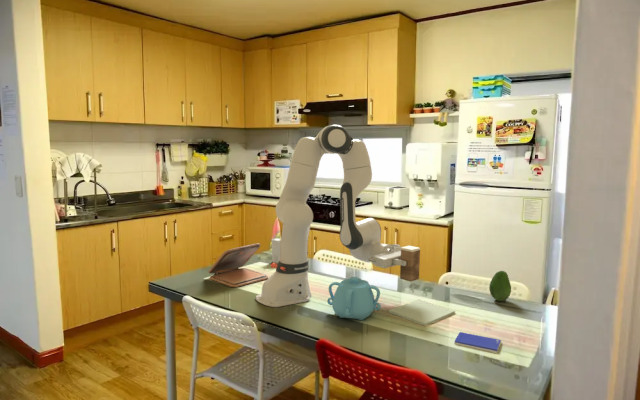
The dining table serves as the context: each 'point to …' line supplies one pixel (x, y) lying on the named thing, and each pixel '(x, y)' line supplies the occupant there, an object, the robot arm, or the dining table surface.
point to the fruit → (500, 286)
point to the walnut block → (410, 263)
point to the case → (236, 267)
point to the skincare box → (276, 250)
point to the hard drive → (478, 342)
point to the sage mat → (422, 312)
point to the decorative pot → (353, 298)
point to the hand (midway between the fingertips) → (412, 262)
